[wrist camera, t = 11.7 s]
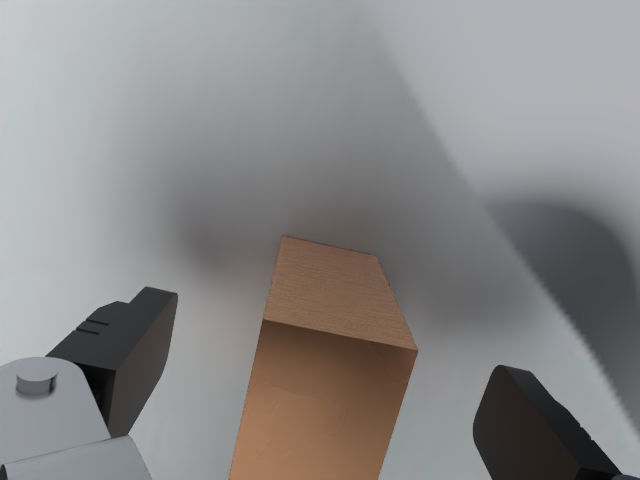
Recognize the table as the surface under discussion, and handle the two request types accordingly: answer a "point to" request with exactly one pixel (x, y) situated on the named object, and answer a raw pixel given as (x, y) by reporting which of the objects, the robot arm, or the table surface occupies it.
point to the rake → (324, 369)
